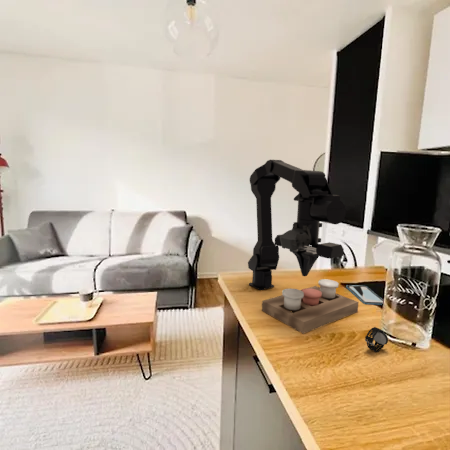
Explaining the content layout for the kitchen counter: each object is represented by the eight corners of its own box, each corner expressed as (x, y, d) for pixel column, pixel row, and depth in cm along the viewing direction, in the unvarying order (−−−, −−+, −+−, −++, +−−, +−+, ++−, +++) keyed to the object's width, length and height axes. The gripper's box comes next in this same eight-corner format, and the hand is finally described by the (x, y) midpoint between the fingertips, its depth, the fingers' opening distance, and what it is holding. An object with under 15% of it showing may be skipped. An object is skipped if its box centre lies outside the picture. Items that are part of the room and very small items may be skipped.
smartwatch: (389, 354, 65) (392, 332, 64) (368, 355, 64) (370, 333, 63) (377, 343, 69) (379, 323, 68) (356, 345, 68) (358, 324, 67)
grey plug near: (277, 304, 81) (278, 290, 80) (291, 300, 84) (292, 287, 83) (292, 312, 76) (293, 297, 76) (307, 307, 79) (308, 293, 79)
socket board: (261, 310, 84) (262, 300, 84) (315, 294, 97) (315, 285, 97) (303, 333, 72) (303, 322, 72) (357, 311, 85) (358, 301, 85)
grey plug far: (313, 294, 89) (314, 281, 89) (325, 290, 92) (326, 278, 92) (329, 300, 85) (330, 287, 84) (341, 296, 88) (342, 283, 87)
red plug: (296, 304, 85) (296, 290, 85) (309, 299, 88) (309, 287, 88) (311, 311, 81) (312, 297, 80) (324, 306, 84) (325, 293, 83)
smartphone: (364, 303, 90) (345, 285, 105) (364, 306, 91) (344, 287, 105) (388, 304, 90) (366, 285, 105) (388, 307, 91) (365, 288, 105)
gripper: (261, 216, 81) (259, 271, 84) (318, 226, 67) (314, 292, 69) (289, 214, 88) (286, 265, 90) (347, 222, 73) (342, 283, 75)
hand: (304, 275), depth 81 cm, fingers closed
